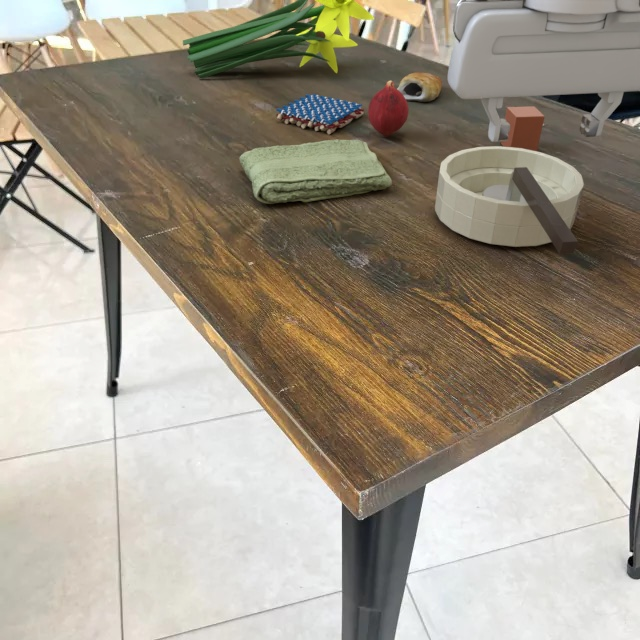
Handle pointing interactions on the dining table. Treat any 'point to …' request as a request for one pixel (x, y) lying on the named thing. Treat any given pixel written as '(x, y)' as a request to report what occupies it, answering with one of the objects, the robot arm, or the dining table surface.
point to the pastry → (420, 87)
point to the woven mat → (320, 113)
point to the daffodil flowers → (278, 36)
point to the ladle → (535, 207)
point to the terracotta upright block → (524, 127)
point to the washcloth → (313, 171)
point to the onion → (388, 110)
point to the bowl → (499, 215)
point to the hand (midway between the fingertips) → (543, 137)
